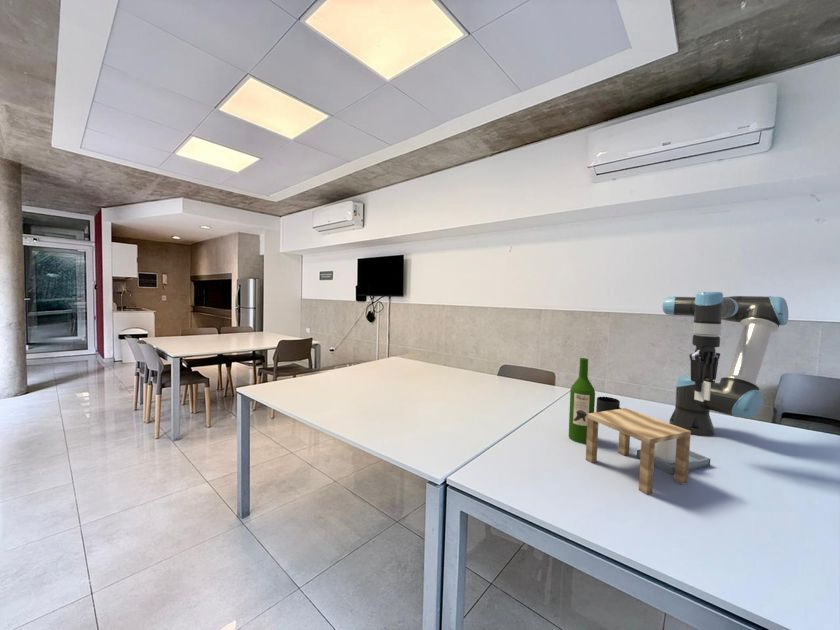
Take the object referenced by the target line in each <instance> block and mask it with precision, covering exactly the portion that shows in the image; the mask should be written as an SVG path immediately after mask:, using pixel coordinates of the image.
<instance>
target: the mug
mask: <svg viewBox="0 0 840 630" xmlns="http://www.w3.org/2000/svg"><path fill="white" fill-rule="evenodd" d="M620 405H621V403H620V400H619V399H617V398H614V397H612V396H611V397H610V396H598V397H596V405H595V406H596V410H595V413H596V412H603V411H609V410H616V409H622V407H620Z"/></svg>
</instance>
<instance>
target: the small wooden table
mask: <svg viewBox="0 0 840 630" xmlns="http://www.w3.org/2000/svg"><path fill="white" fill-rule="evenodd" d="M599 424H600V425H603V426H605V427H608V428H609V429H612V430H614V431H617V432H618V433H619V434H618V452H617V453H618V454H620V455H622V456H624V457H625V456H629V455H630V445H631V443H630V440H631V438H634V439H635V440H638V441H641V443H640V449H641V457H640V458H639V460H640V461H639V476H638V477H639V479H638V480H639V481H638V491H639V492H641V493H643V494H644V495H649V494H650V495H651V494H653V486H654V485H653V484H654V471H655V469H654V454H655V443H659V442H663V441H668V440H673V439H677V441H676V457H675V473H674V475H673V481H674V482H676V483H678V484H680V485H686V484H688V481H689V480H688V478H689V472H688V466H689V451H691V449H690V447H691V435H692V434H691V431H689V430H686V429H683V428H680V427H678V426H675V425H672V424H669V422H666V421H663V420H661V419H658V418H655V417H651V416H650V415H646V414H644V413H640V412H637V411H635V410H632V409H628V408H627V407H624V408H621V409H616V410H609V411H603V412H596V411H595V412H594V413H589V414H588V420H587V442H586V443H585V446H586V447H585V449H586V450H585V460H586V461H588V462H589V463H591V464H592V463H593V464H594V463H597V460H598V459H597V458H598V439H599Z"/></svg>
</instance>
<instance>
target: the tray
mask: <svg viewBox="0 0 840 630" xmlns="http://www.w3.org/2000/svg"><path fill="white" fill-rule="evenodd" d="M640 457H641V448H640V449H636V458H638V459H640ZM654 466H655V467H657V468H658V469H661V470H663V471H665V472H667V473H669V474H671V475H672V476H674V473H675V463H672V464H668V463H666V462H664V461H662V460H659V459H657V458H655V457H654ZM710 466H711V458H709V457H707V456H704V455H702V454H699V453H697V452H695V451H692V450H690V451H689V466H688V473H689V472H693V471H695V470H699V469H703V468H708V467H710Z"/></svg>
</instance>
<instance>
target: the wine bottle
mask: <svg viewBox="0 0 840 630" xmlns="http://www.w3.org/2000/svg"><path fill="white" fill-rule="evenodd" d="M595 400H596V392H595V388H594V386H593V385H592V383H591V382H590V380H589V359H588V358H584V357H580V358H579V367H578V378H577V379H576V380H575V381H574V383H573V384H572V385H571V387H570V392H569V418H568V419H569V420H568V438H569V439H570V440H571V441H573V442H576V443H579V444H586V442H587V420H588V414H589V413H595V406H596V405H595V403H596V401H595Z"/></svg>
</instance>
